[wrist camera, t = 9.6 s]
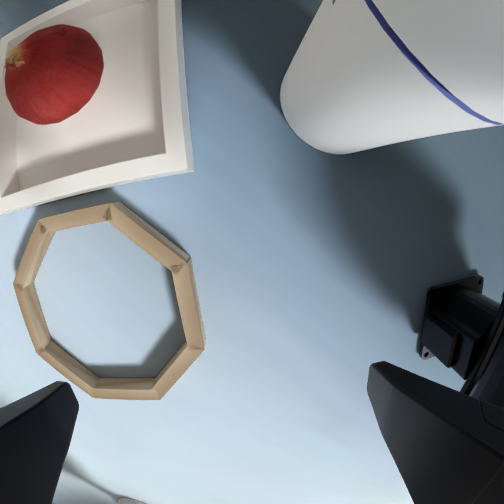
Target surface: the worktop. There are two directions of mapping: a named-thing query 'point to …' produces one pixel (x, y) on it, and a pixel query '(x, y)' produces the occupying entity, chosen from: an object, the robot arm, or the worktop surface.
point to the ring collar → (153, 246)
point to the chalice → (129, 501)
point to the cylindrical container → (395, 72)
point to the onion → (53, 73)
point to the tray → (103, 108)
